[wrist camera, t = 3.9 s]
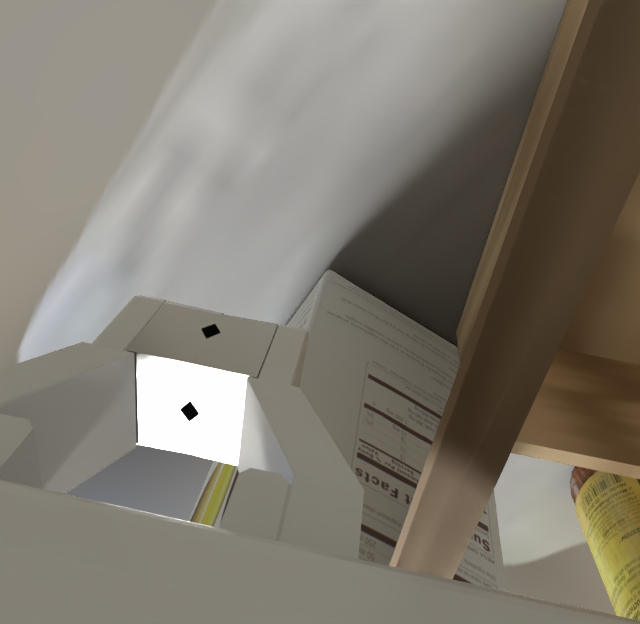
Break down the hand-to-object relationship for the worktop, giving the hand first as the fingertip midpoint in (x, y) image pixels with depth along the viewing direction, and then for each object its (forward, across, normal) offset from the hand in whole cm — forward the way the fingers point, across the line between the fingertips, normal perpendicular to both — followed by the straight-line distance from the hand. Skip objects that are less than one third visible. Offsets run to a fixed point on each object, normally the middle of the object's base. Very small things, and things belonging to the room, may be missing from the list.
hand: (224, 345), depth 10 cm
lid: (+3, -6, 0) cm, 7 cm away
